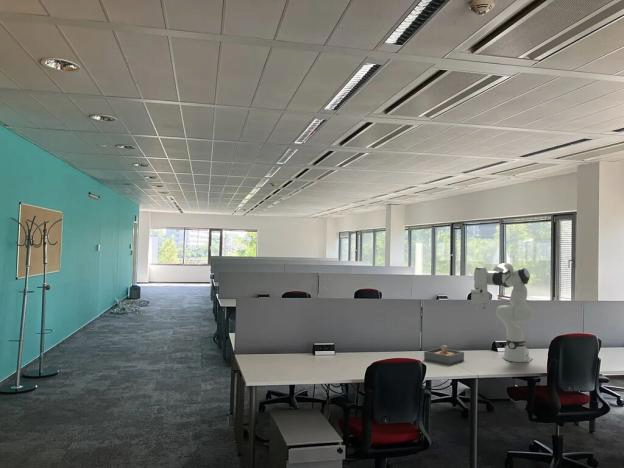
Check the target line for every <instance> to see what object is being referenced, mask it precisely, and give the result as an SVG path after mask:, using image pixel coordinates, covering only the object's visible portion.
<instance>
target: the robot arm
mask: <svg viewBox="0 0 624 468" xmlns="http://www.w3.org/2000/svg"><path fill="white" fill-rule="evenodd" d="M530 277H531V275H530V273H529V270H528V269H527V268H525V267H522V268H518V269H515V268H514V266H513V265H512V264H511V263H507V262H504V263H503V262H502V263H500V264H497V265H495V266H494V267H493V270H492V271H490V270H489V271H488V270H487V267H486V266H477V267H475V268H474V272H473V281H474V283H473V284H474V285H473V287H472V288H471V289H470V293H471V295H470V296H471V297H470V298H471V300H470V301H471V304H473V305H474V306H475V310H476V311H480V307H479V305H480V304H482V307H481V309H482V310H486V307H487V304H488V303H490V292H489V291H488V285H489V286H498V287H499V286H500V287H501V286H503V288H512V287H513V288H512V290H511V292H510V297H509V304H510V305H509V304H503V305H499V306H497V308H496V310H495V315H496V316H497V318H498V319H499V320H501V322H502V323H503V324H504V326H505V329H506V341H505V343H506V346H504V353H503V356H502V359H504V360H506V361H509V362H514V363H530V362H531V360H533V357H532V356H530V351H529V349H528V348H527V347H526V342H527V341H526V340H524V337H525V336H524V330H523V328H522V327H521V326H519V325H517V324H516V323H515V322H523V323H527V322H532V321H533V320H534V319H535V311H534V309H533V308H532V307H530V306H529V305H528V304H527V299H528V298H527V297H528V289H527V286H526V285H528V283H529V281H530Z"/></svg>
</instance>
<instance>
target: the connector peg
mask: <svg viewBox="0 0 624 468" xmlns="http://www.w3.org/2000/svg"><path fill="white" fill-rule="evenodd" d="M440 348H441V354H445V355H446V354H447V349H448V346H447V345H441V346H440Z"/></svg>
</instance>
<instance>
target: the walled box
mask: <svg viewBox="0 0 624 468" xmlns="http://www.w3.org/2000/svg"><path fill="white" fill-rule="evenodd" d="M423 353H424V354H423V356H424V357H423V360H424V361H427V362H433V363H438V364H443V365H448V366H451V365H455V364H456V363H457V364H458V363H461V362H464V361H465V352H464V351H460V350H454V349H448V348H447V354H446V355H445V354H441V347H437V348H433V349H429V350H425V351H424V352H423Z"/></svg>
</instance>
